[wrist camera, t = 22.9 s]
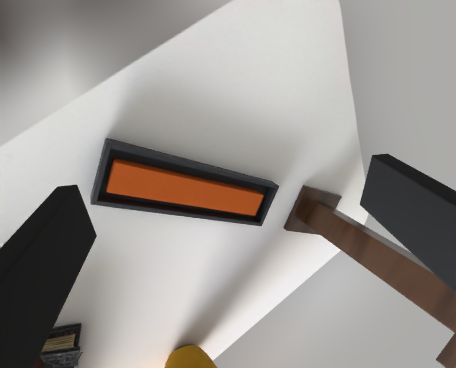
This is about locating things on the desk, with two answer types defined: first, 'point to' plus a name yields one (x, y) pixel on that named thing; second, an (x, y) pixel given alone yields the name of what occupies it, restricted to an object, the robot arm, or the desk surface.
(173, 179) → the orange long flat bar
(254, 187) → the tray
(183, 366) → the apple
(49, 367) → the book
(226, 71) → the desk surface
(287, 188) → the desk surface
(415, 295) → the stand
